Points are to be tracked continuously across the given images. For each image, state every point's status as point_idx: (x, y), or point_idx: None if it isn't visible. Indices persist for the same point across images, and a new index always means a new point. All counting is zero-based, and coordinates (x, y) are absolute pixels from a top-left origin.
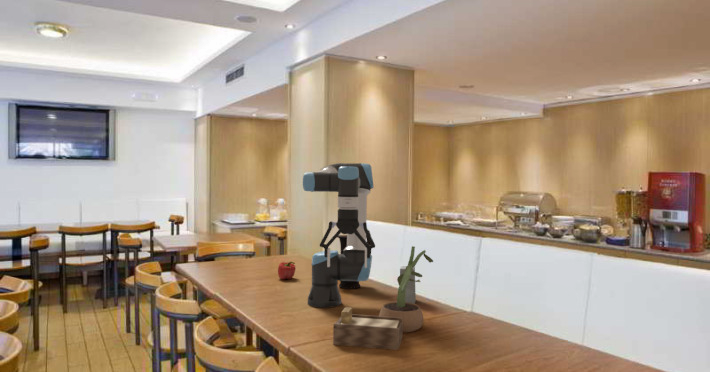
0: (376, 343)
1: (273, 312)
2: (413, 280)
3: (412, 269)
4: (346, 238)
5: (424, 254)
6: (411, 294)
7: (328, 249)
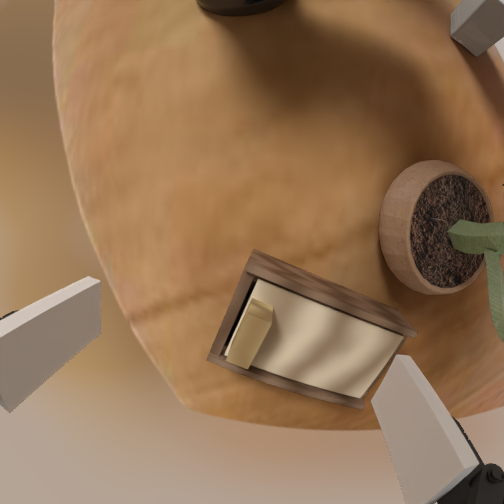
0: None
1: (102, 64)
2: None
3: None
4: None
5: None
6: (482, 44)
7: (5, 404)
